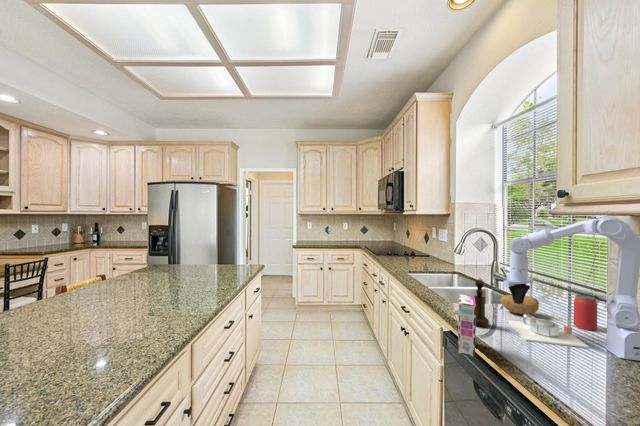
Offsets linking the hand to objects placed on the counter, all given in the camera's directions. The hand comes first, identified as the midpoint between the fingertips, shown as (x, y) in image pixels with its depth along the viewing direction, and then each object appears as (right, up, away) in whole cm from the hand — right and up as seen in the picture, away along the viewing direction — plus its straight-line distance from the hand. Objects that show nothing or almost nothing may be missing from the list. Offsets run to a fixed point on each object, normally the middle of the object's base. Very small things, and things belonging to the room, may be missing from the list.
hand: (518, 303), depth 106 cm
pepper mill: (-13, -10, +4) cm, 17 cm away
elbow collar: (+6, -9, -2) cm, 11 cm away
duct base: (+7, -10, -4) cm, 13 cm away
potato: (+12, -10, +15) cm, 21 cm away
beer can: (+27, -10, +1) cm, 29 cm away
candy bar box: (-28, -10, -15) cm, 33 cm away
